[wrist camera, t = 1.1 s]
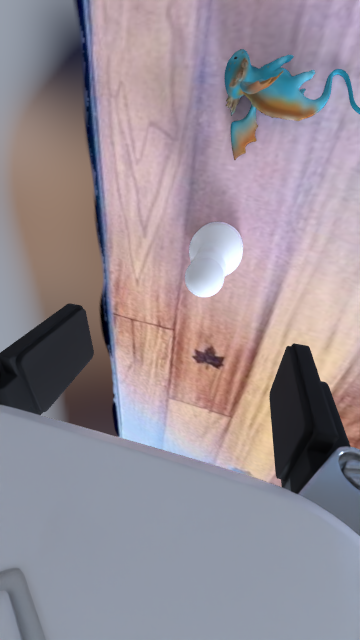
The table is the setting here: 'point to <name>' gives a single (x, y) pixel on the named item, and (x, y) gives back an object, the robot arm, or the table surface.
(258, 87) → the dragon figurine
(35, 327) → the robot arm
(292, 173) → the table surface
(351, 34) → the table surface
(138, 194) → the table surface
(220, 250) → the chess pawn
